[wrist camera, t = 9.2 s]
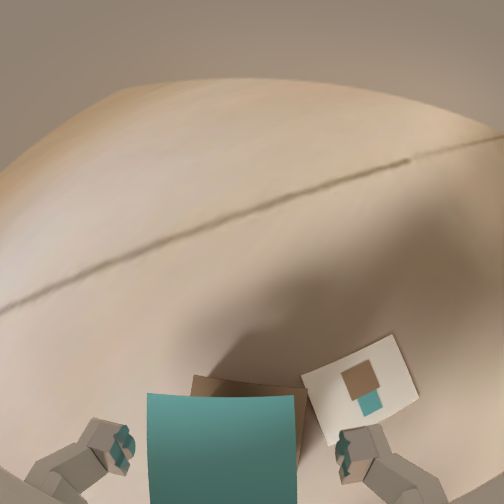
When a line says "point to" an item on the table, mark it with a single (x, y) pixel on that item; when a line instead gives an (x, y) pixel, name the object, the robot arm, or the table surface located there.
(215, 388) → the walnut brick
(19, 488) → the robot arm
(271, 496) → the teal brick
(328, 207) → the table surface
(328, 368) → the page
